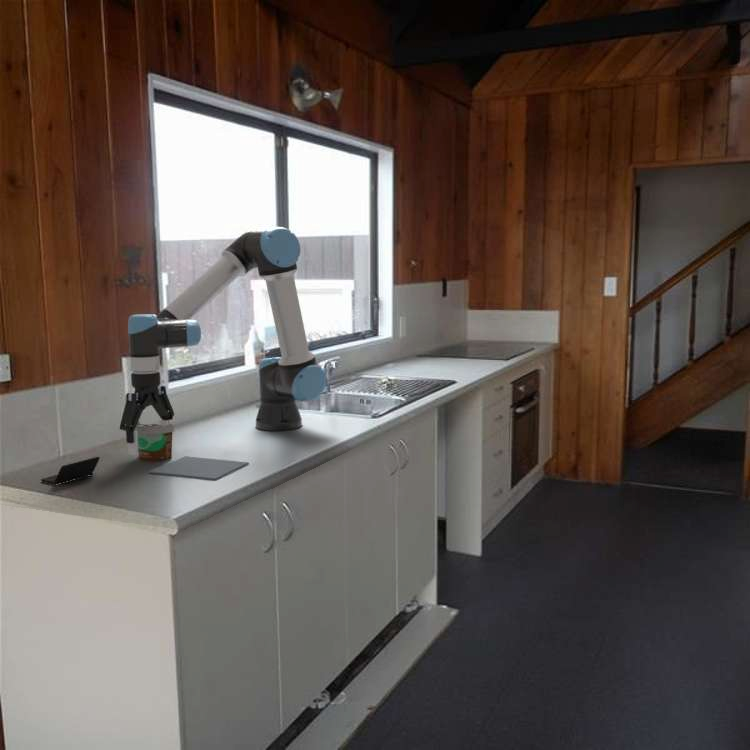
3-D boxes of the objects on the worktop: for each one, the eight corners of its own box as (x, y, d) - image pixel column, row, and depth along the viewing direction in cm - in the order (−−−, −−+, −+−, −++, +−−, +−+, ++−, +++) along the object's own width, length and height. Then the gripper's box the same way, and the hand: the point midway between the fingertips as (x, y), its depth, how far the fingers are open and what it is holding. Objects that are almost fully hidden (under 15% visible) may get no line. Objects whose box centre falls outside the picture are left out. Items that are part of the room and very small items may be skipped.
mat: (185, 458, 206) (185, 456, 206) (248, 464, 199) (248, 462, 199) (148, 473, 191) (148, 471, 191) (215, 480, 184) (215, 478, 184)
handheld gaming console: (71, 465, 193) (84, 439, 189) (91, 483, 192) (104, 457, 188) (36, 483, 183) (49, 456, 179) (57, 502, 182) (70, 475, 178)
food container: (124, 460, 203) (122, 425, 202) (139, 455, 209) (137, 420, 207) (161, 464, 199) (159, 428, 197) (175, 459, 204) (174, 423, 203)
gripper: (162, 365, 213) (166, 437, 216) (102, 377, 190) (107, 458, 193) (184, 366, 210) (188, 439, 214) (126, 379, 187) (130, 460, 191)
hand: (149, 448), depth 203 cm, fingers open, 13 cm apart
